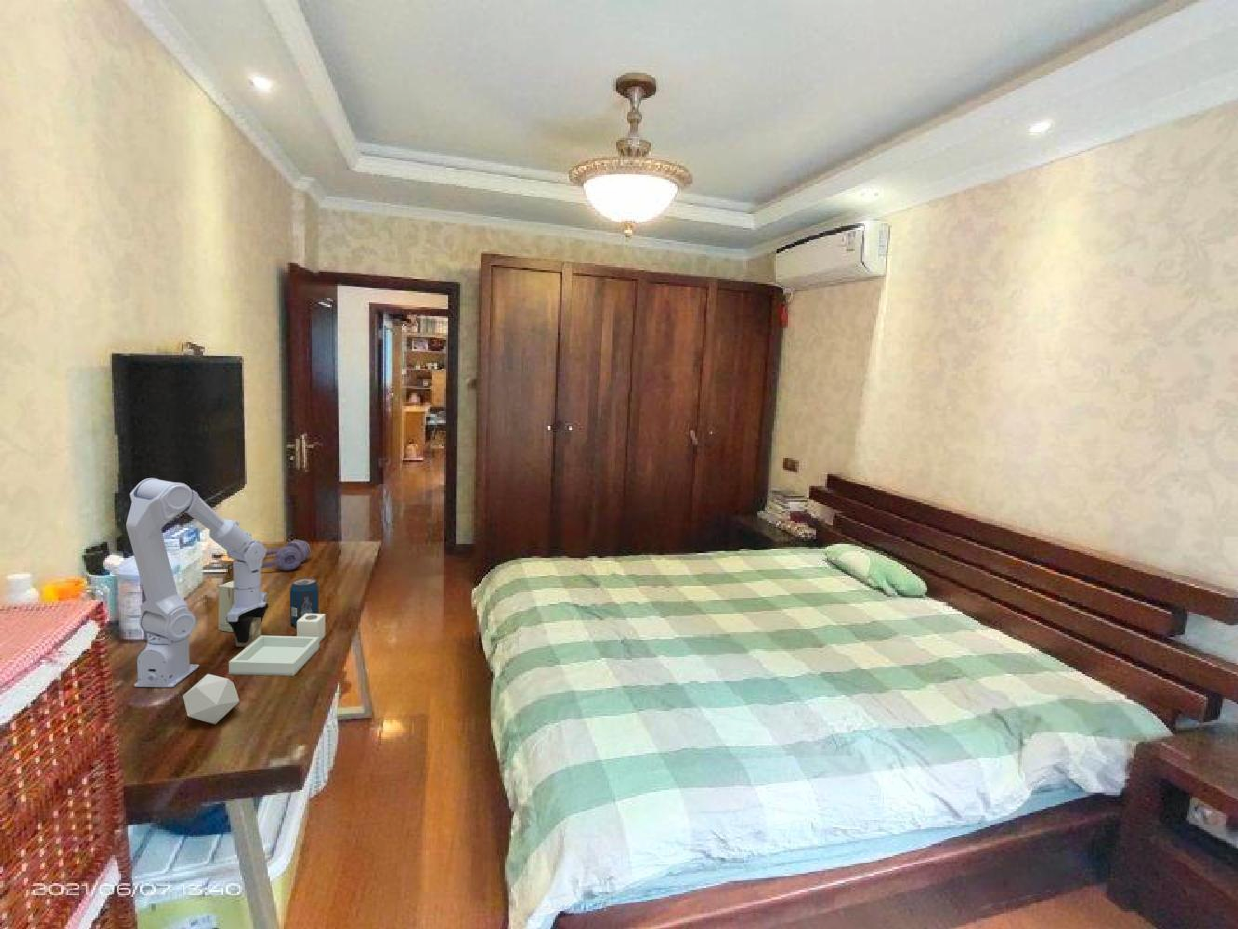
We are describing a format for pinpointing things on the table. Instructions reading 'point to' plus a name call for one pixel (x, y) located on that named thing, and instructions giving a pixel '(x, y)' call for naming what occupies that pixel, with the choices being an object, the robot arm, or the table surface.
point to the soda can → (303, 598)
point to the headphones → (289, 555)
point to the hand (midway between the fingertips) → (248, 637)
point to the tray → (274, 656)
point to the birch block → (252, 632)
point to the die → (210, 698)
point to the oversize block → (311, 626)
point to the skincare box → (225, 604)
